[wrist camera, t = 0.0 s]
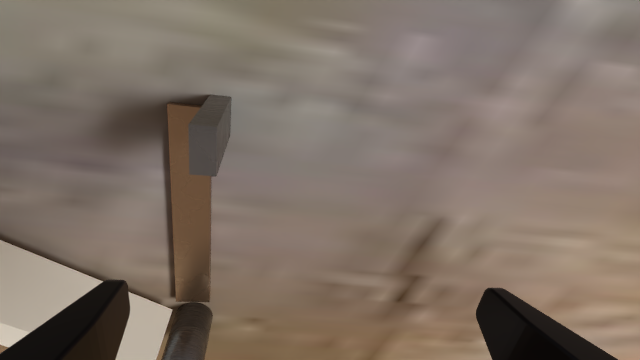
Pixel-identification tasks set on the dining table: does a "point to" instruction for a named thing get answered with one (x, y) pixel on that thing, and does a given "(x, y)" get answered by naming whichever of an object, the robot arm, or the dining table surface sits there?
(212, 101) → the gate posts
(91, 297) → the robot arm
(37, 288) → the gate
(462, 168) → the dining table surface
